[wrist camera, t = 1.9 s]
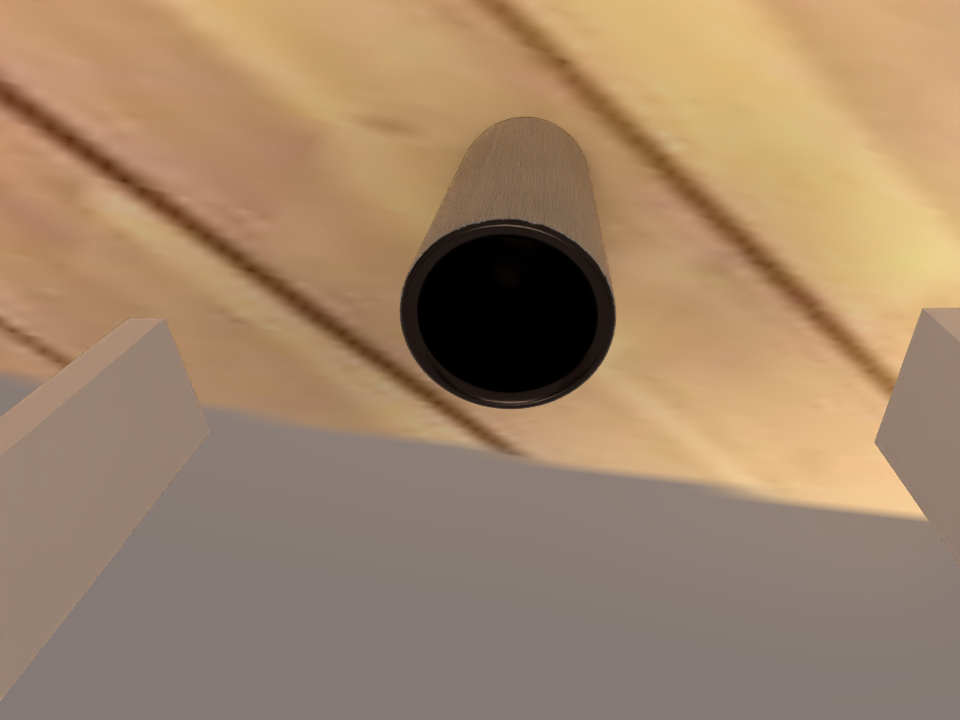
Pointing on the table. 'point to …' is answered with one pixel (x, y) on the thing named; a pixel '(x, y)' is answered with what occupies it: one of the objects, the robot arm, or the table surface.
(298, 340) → the table surface
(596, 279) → the grey tube
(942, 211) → the table surface
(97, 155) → the table surface
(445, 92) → the table surface
